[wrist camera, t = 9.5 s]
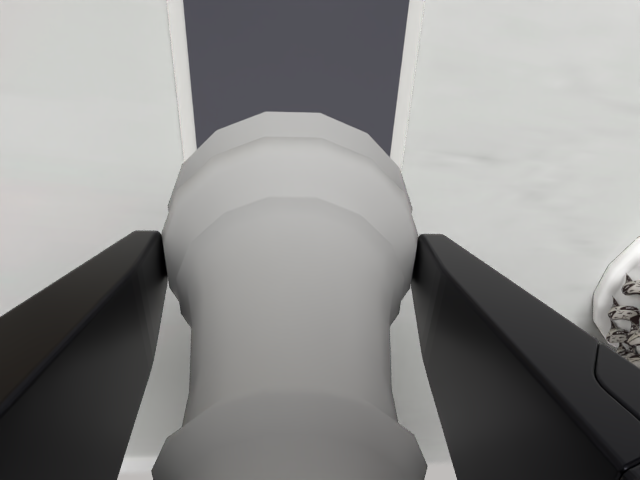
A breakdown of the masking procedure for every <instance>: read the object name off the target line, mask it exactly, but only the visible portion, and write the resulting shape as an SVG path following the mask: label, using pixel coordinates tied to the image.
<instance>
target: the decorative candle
mask: <svg viewBox="0 0 640 480" xmlns="http://www.w3.org/2000/svg"><path fill="white" fill-rule="evenodd" d="M593 321H594V322H595V324H596V325H597V327H598V328H599V330H600V332H601V333H602V335H603V336H604V338H605V339H606V341H607V342H608V343H609V344H610V345H612V346H614V347H616V348H618V350H617V351H616V353H618V354H619V355H621V356H622V357H624V358H625V359H627V360H628V361H630V362H631V363H633V364H634V365H636V366H637V367H639V368H640V236H639V237H638V238H637V239H636V240H634V241H633V242H632V243H631V244H630V245H629V246H628V247H627V248H626V249H625V250H624V251H623V252H622V253H621V254H620V255H619V256H618V257H617V258H616V259H614V260H613V261H612V262H611V263H610V264H609V266H608V267H607V269H606V271H605V273H604V275H603V277H602V279H601V281H600V283H599V284H598V286H597V288H596V290H595V292H594V297H593Z"/></svg>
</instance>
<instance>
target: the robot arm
mask: <svg viewBox="0 0 640 480" xmlns="http://www.w3.org/2000/svg"><path fill="white" fill-rule="evenodd" d="M167 281H168V274H167V267H166V261H165V254H164V247H163V240H162V235H161V234H160V232H158V231H139V230H138V231H134V232H132V233H130V234H129V235H127V236H126V237H124V238H123V239H121V240H119V241H118V242H116V243H115V244H113V245H112V246H110V247H109V248H107V249H105V250H104V251H102V252H101V253H99V254H98V255H96V256H94V257H93V258H91V259H90V260H88V261H87V262H85V263H84V264H82V265H80V266H79V267H77V268H76V269H74V270H73V271H71V272H70V273H68V274H66V275H65V276H63V277H62V278H60V279H59V280H57V281H55V282H54V283H52V284H51V285H49V286H48V287H46V288H45V289H43V290H41V291H40V292H38V293H37V294H35V295H34V296H32V297H30V298H29V299H27V300H26V301H24V302H23V303H21V304H20V305H18V306H16V307H15V308H13V309H12V310H10V311H9V312H7V313H5V314H4V315H2V316H1V317H0V480H117V478H118V474H119V471H120V468H121V465H122V462H123V458H124V455H125V452H126V449H127V446H128V442H129V439H130V436H131V433H132V430H133V427H134V423H135V420H136V417H137V414H138V411H139V407H140V404H141V401H142V398H143V395H144V391H145V388H146V385H147V382H148V379H149V375H150V372H151V368H152V365H153V361H154V356H155V351H156V346H157V340H158V334H159V329H160V323H161V317H162V312H163V306H164V300H165V294H166V289H167ZM411 289H412V295H413V302H414V308H415V314H416V321H417V327H418V334H419V340H420V346H421V352H422V358H423V362H424V366H425V370H426V374H427V377H428V381H429V384H430V388H431V391H432V394H433V398H434V401H435V405H436V408H437V412H438V415H439V419H440V422H441V425H442V429H443V432H444V436H445V439H446V443H447V446H448V449H449V453H450V456H451V460H452V463H453V467H454V470H455V474H456V477H457V480H640V368H639V367H637V366H636V365H634V364H633V363H631V362H630V361H628V360H627V359H625V358H624V357H622V356H621V355H619V354H618V353H616V352H615V351H613V350H612V349H610V348H609V347H608V346H606V345H605V344H603V343H600V344H599V345H598V343H599V342H598V340H597V339H596V338H594V337H593V336H591V335H590V334H588V333H587V332H585V331H584V330H582V329H581V328H579V327H578V326H577V325H575V324H574V323H572V322H571V321H569V320H568V319H566V318H565V317H563V316H562V315H560V314H559V313H558V312H556V311H555V310H553V309H552V308H550V307H549V306H547V305H546V304H544V303H543V302H541V301H540V300H538V299H537V298H536V297H534V296H533V295H531V294H530V293H528V292H527V291H525V290H524V289H522V288H521V287H519V286H518V285H516V284H515V283H514V282H512V281H511V280H509V279H508V278H506V277H505V276H503V275H502V274H500V273H499V272H497V271H496V270H495V269H493V268H492V267H490V266H489V265H487V264H486V263H484V262H483V261H481V260H480V259H478V258H477V257H475V256H474V255H473V254H471V253H470V252H468V251H467V250H465V249H464V248H462V247H461V246H459V245H458V244H456V243H455V242H454V241H452V240H451V239H449V238H448V237H446V236H445V235H442V234H421V235H420V236H419V237H418V241H417V249H416V255H415V261H414V267H413V273H412V279H411Z"/></svg>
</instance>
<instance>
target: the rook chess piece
mask: <svg viewBox="0 0 640 480" xmlns="http://www.w3.org/2000/svg"><path fill="white" fill-rule="evenodd" d="M168 210H169V213H168V216H167V219H166V222H165V225H164V227H163V230H162V240H163V247H164V254H165V261H166V267H167V274H168V281H169V287H170V289H171V290H172V292H173V293H174V295H175V296H176V298H177V299H178V301H179V303H180V310H181V314H182V316H183V317H184V318H185V320H186V321H187V323H188V324H189V326H190V327H191V356H190V385H189V396H188V400H187V405H186V410H185V415H184V420H183V424H182V428H180V429H179V430H177V431H176V432H175V433H173V434H172V435H171V436H169V437H168V438H167V439H166V441H165V443H164V445H163V447H162V449H161V452H160V454H159V456H158V458H157V460H156V462H155V464H154V466H153V468H152V476H153V480H424V478H425V474H426V470H427V464H426V461H425V459H424V457H423V454H422V452H421V450H420V448H419V445H418V443H417V441H416V438H415V436H414V434H412V433H411V432H409V431H408V430H407V429H405V428H404V427H403V426H401V425H400V424H399V423H398V419H397V414H396V409H395V404H394V399H393V394H392V386H391V355H390V325H391V324H392V323H393V321H394V320H395V318H396V317H397V315H398V314H399V310H400V304H401V300H402V299H403V297H404V296H405V295H406V293H407V292H408V290H409V289H410V284H411V279H412V273H413V267H414V261H415V255H416V249H417V241H418V233H417V230H416V226H415V223H414V220H413V217H412V206H411V202H410V199H409V196H408V193H407V190H406V186H405V183H404V180H403V177H402V174H401V170H400V168H399V167H398V165H397V164H396V163H395V162H394V161H393V160H392V159H391V158H390V157H389V156H388V155H387V154H386V153H385V152H384V150H383V149H382V148H381V147H380V146H379V145H378V144H377V143H376V142H375V141H374V140H373V139H372V138H371V137H370V135H369V134H368V133H365V132H363V131H361V130H359V129H356V128H354V127H352V126H349V125H347V124H345V123H342V122H340V121H338V120H335V119H333V118H331V117H328V116H326V115H324V114H322V113H306V112H263V113H261V114H258V115H255V116H253V117H250V118H248V119H245V120H242V121H240V122H237V123H234V124H232V125H229V126H226V127H224V128H221V129H219V130H216V131H215V132H214V133H213V134H212V135H211V136H210V137H209V138H208V139H207V140H206V141H205V142H204V143H203V144H202V145H201V146H200V147H199V148H198V149H197V150H196V151H195V152H194V153H193V154H192V155H191V156H190V157H189V158H188V159H187V160H186V161H185V162H184V163H183V164H182V166H181V169H180V172H179V175H178V178H177V181H176V184H175V186H174V189H173V192H172V195H171V198H170V201H169V204H168Z"/></svg>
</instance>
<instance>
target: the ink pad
mask: <svg viewBox="0 0 640 480" xmlns="http://www.w3.org/2000/svg"><path fill="white" fill-rule="evenodd" d="M166 1H167V11H168V20H169V29H170V38H171V47H172V57H173V66H174V75H175V84H176V93H177V102H178V112H179V121H180V130H181V139H182V148H183V158H184V162H185V161H186V160H187V159H188V158H189V157H190V156H191V155H192V154H193V153H194V152H195V151H196V150H197V149H198V148H199V147H200V146H201V145H202V144H203V143H204V142H205V141H206V140H207V139H208V138H209V137H210V136H211V135H212V134H213V133H214V132H215V131H216V130H219V129H221V128H224V127H226V126H229V125H232V124H234V123H237V122H240V121H242V120H245V119H248V118H250V117H253V116H255V115H258V114H261V113H263V112H306V113H322V114H324V115H326V116H328V117H331V118H333V119H335V120H338V121H340V122H342V123H345V124H347V125H349V126H352V127H354V128H356V129H359V130H361V131H363V132H365V133H368V134H369V135H370V137H371V138H372V139H373V140H374V141H375V142H376V143H377V144H378V145H379V146H380V147H381V148H382V149H383V150H384V152H385V153H386V154H387V155H388V156H389V157H390V158H391V159H392V160H393V161H394V162H395V163H396V164H397V165H398V167H399V168H400V170H401V171H402V164H403V156H404V149H405V142H406V135H407V128H408V121H409V113H410V106H411V99H412V92H413V85H414V78H415V70H416V63H417V56H418V49H419V42H420V35H421V27H422V20H423V13H424V6H425V0H166Z"/></svg>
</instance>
